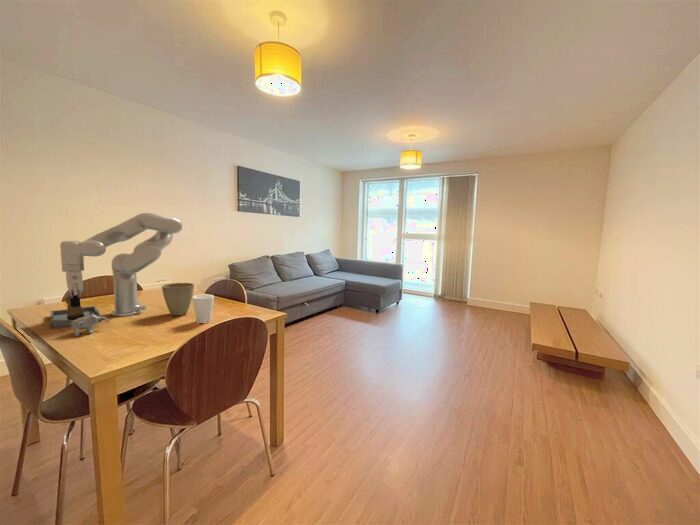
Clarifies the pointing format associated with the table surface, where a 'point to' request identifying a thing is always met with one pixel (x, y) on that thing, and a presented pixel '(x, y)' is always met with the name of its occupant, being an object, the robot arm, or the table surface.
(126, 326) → the table surface
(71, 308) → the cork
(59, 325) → the tray
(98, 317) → the gray elephant figurine
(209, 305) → the foam cup
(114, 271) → the robot arm
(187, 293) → the plant pot
